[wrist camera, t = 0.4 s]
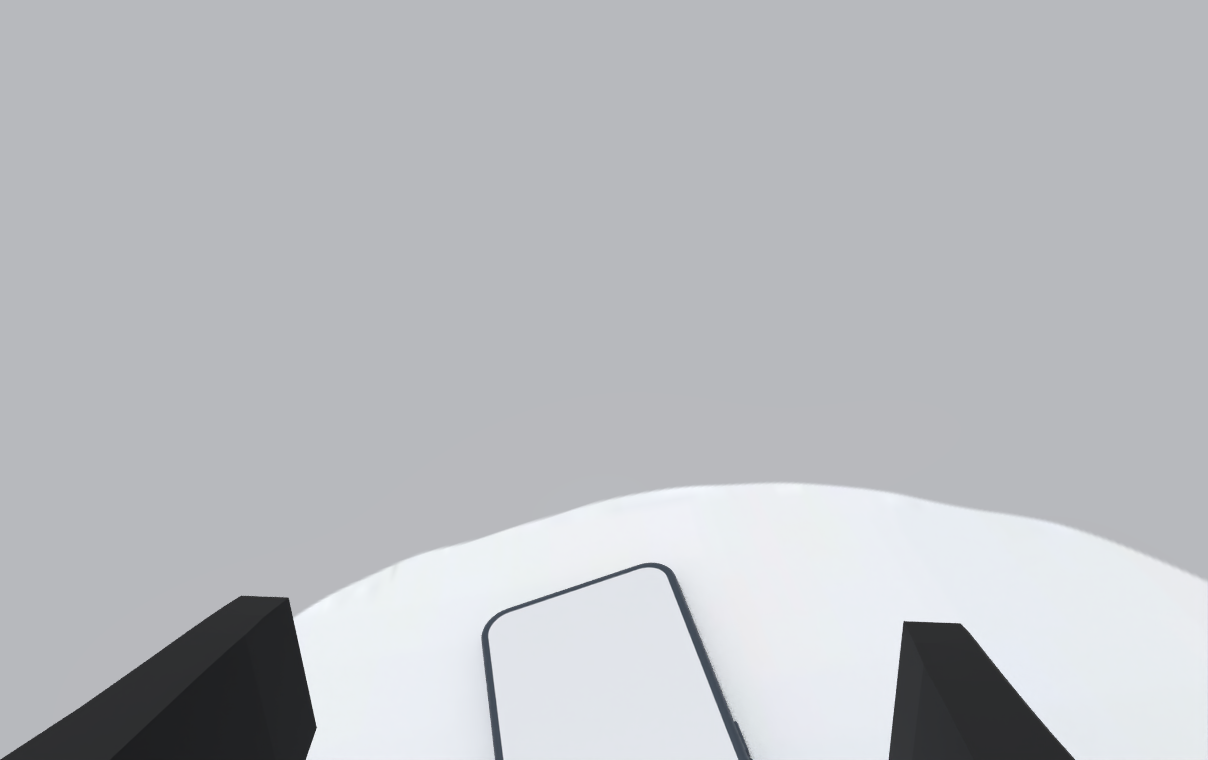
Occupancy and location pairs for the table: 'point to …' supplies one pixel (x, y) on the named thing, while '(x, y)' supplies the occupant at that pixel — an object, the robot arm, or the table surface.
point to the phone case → (606, 676)
